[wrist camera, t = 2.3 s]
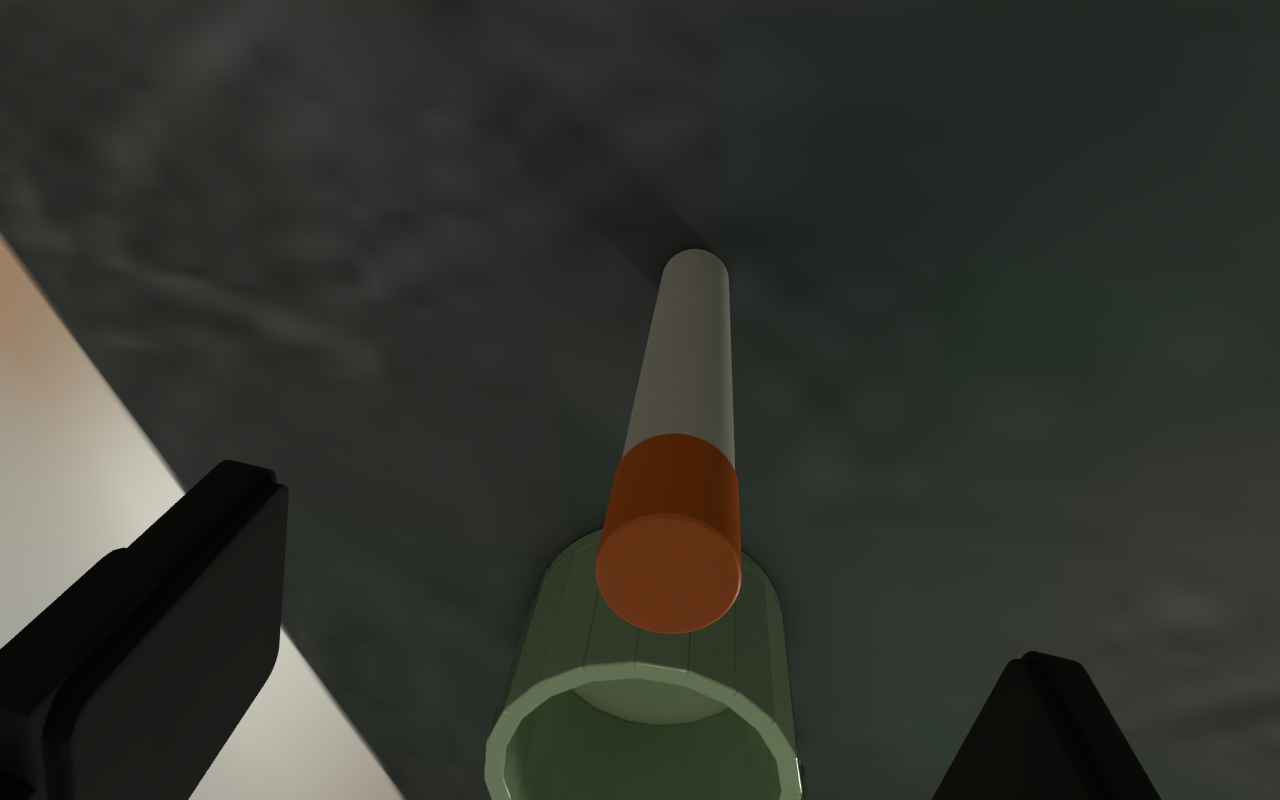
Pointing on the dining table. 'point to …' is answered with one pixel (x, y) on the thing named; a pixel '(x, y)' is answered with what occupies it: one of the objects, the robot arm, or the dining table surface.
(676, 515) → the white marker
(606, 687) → the mug
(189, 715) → the robot arm
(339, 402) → the dining table surface
